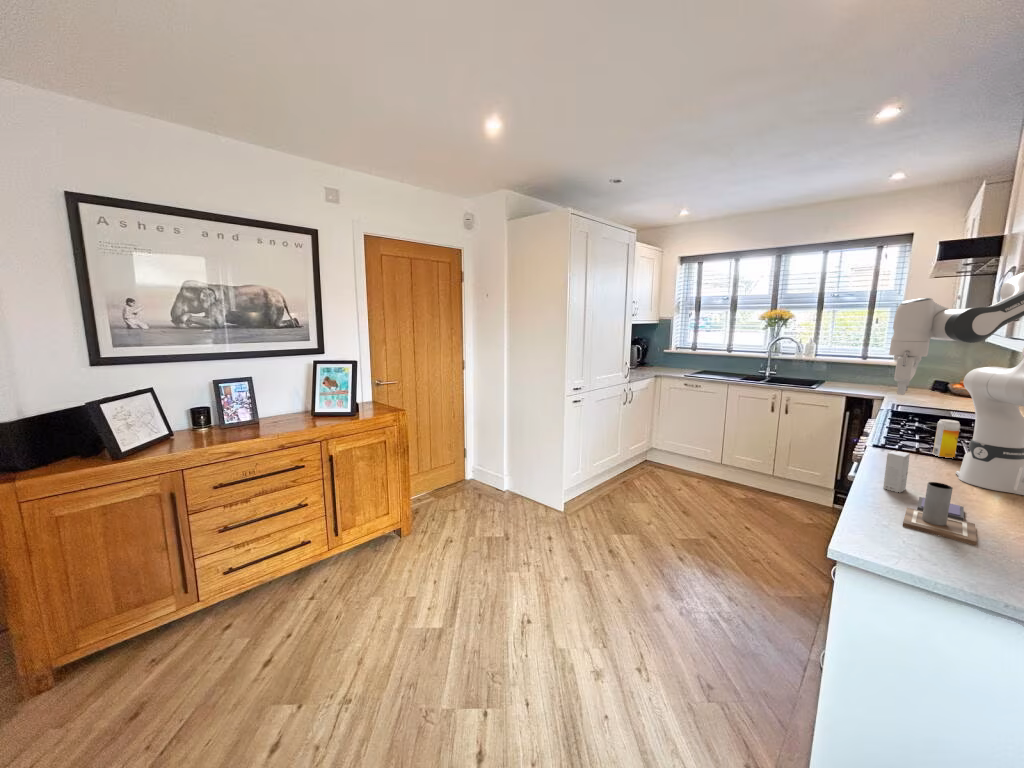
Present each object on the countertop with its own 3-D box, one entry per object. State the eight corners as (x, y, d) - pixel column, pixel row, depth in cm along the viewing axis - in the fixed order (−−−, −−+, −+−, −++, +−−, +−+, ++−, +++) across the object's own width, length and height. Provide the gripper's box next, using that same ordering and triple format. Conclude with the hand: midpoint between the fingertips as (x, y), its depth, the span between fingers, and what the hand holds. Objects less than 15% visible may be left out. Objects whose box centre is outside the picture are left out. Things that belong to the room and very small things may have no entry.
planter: (920, 521, 108) (926, 484, 107) (923, 516, 111) (928, 480, 110) (945, 527, 105) (951, 490, 103) (947, 522, 108) (953, 485, 106)
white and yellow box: (959, 459, 159) (965, 422, 157) (943, 459, 160) (949, 422, 157) (943, 454, 165) (949, 419, 163) (928, 454, 166) (933, 419, 163)
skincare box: (900, 493, 128) (905, 456, 126) (881, 488, 132) (887, 453, 130) (906, 489, 132) (911, 453, 130) (888, 484, 135) (893, 449, 134)
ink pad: (918, 500, 123) (919, 495, 123) (962, 510, 117) (963, 505, 116) (916, 510, 116) (917, 506, 116) (963, 522, 110) (964, 516, 110)
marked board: (906, 510, 117) (907, 506, 116) (974, 527, 107) (975, 523, 107) (902, 526, 108) (903, 521, 108) (976, 545, 98) (976, 541, 98)
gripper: (920, 352, 120) (913, 398, 122) (924, 349, 134) (917, 390, 136) (891, 351, 125) (885, 395, 127) (898, 348, 138) (892, 388, 140)
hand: (902, 392), depth 131 cm, fingers open, 8 cm apart
